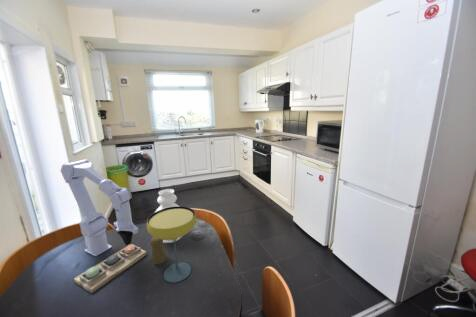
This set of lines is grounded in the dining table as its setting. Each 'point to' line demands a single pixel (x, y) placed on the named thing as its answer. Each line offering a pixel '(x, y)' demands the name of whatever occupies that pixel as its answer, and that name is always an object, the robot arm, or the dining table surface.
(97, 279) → the button board
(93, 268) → the sage button
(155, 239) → the cork
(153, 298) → the dining table surface
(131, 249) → the terracotta button
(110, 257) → the charcoal button
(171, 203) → the decorative vase
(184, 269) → the cocktail glass
